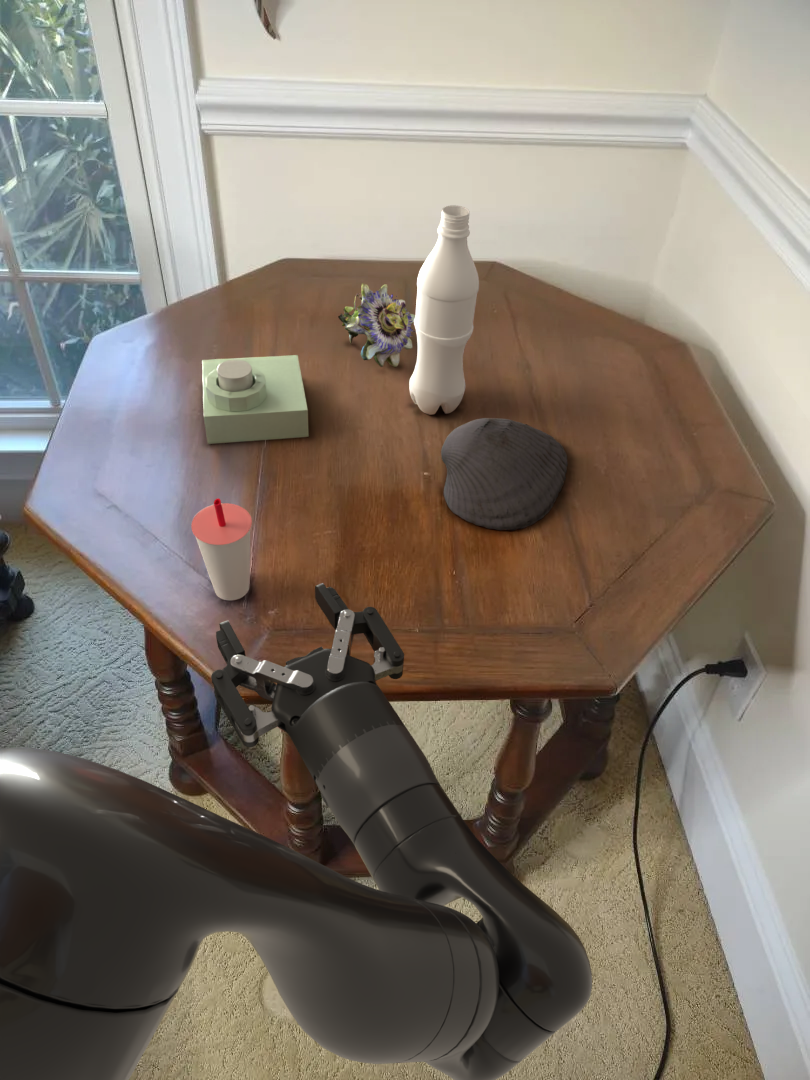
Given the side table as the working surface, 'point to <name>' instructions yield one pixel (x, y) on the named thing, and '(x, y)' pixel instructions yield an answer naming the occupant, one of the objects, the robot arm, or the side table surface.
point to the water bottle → (444, 315)
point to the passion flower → (380, 325)
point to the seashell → (502, 473)
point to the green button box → (256, 402)
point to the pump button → (235, 375)
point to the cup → (225, 547)
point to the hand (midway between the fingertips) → (272, 608)
